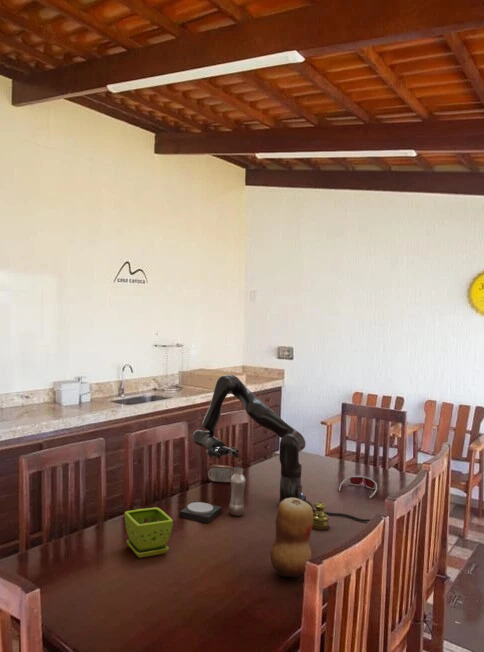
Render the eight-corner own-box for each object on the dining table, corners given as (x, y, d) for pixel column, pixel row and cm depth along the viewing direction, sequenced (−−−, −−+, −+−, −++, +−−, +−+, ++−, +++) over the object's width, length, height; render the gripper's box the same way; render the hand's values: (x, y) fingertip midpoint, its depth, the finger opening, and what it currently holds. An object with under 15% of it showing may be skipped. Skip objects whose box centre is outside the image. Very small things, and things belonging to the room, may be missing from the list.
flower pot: (135, 562, 182) (137, 525, 182) (121, 545, 195) (123, 511, 194) (173, 555, 189) (174, 519, 189) (157, 539, 201) (158, 506, 201)
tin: (235, 482, 273) (236, 465, 273) (235, 484, 270) (236, 467, 270) (206, 479, 275) (207, 463, 275) (206, 481, 272) (206, 465, 272)
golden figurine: (328, 531, 215) (329, 506, 215) (309, 529, 217) (310, 504, 217) (327, 524, 223) (329, 500, 222) (309, 522, 224) (310, 498, 224)
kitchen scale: (221, 512, 231) (221, 505, 231) (208, 523, 219) (208, 515, 218) (194, 506, 237) (194, 499, 237) (179, 516, 224) (180, 509, 224)
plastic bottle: (227, 511, 232) (229, 465, 232) (242, 511, 233) (245, 466, 232) (229, 517, 226) (231, 470, 225) (245, 517, 226) (247, 470, 226)
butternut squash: (301, 590, 169) (305, 511, 168) (263, 577, 176) (266, 501, 175) (316, 572, 180) (320, 499, 180) (279, 561, 187) (283, 490, 187)
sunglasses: (381, 489, 271) (381, 479, 270) (372, 504, 257) (372, 494, 256) (347, 482, 280) (347, 473, 279) (336, 496, 266) (336, 486, 265)
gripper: (201, 439, 252) (214, 448, 237) (229, 438, 257) (243, 447, 241) (200, 455, 252) (213, 465, 237) (228, 453, 257) (242, 463, 242)
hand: (228, 456), depth 239 cm, fingers open, 8 cm apart
